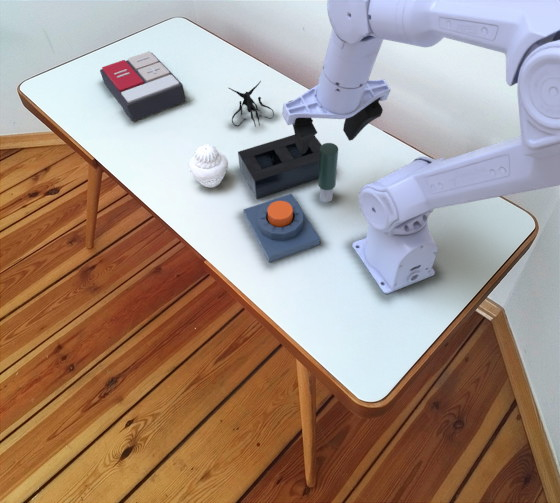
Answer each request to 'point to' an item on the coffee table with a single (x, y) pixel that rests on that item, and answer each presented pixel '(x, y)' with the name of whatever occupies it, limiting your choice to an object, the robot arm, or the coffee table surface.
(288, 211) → the power button
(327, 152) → the green cylinder
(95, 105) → the coffee table surface
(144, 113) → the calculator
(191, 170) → the white rounded ridged piece
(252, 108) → the creature
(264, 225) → the station
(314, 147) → the holder
